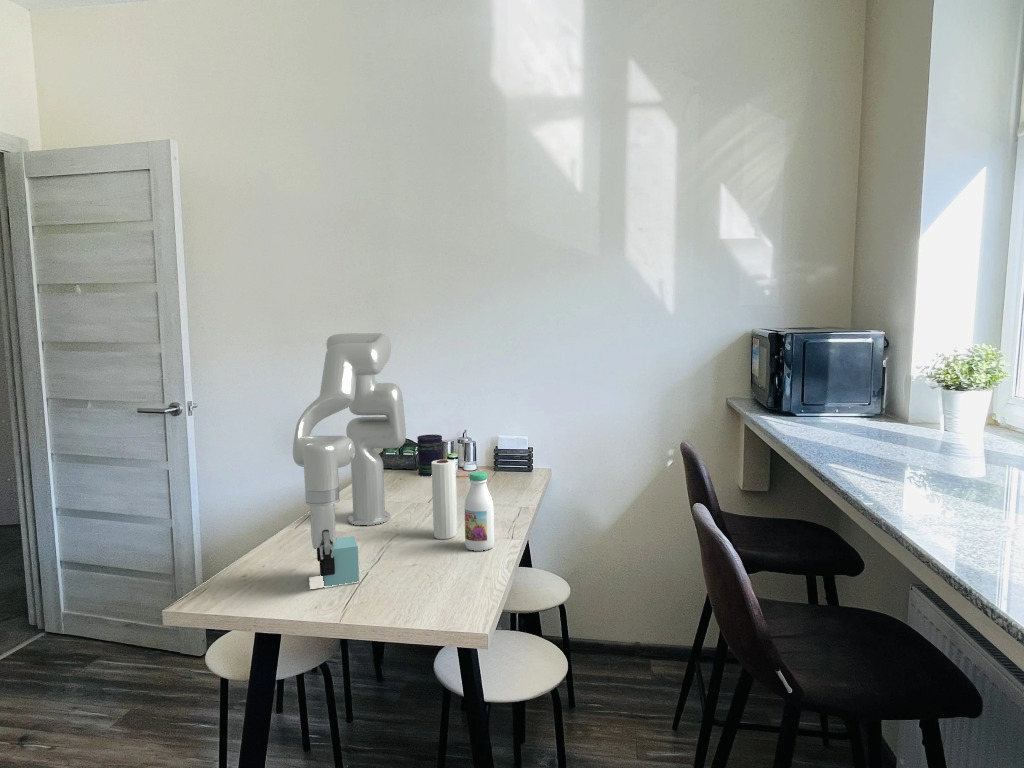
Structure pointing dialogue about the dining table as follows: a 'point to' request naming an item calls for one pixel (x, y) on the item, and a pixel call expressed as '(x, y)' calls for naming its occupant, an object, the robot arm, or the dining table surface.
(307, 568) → the dining table surface
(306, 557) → the dining table surface
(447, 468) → the paper towel roll
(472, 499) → the milk bottle
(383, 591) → the dining table surface
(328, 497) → the robot arm
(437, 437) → the storage jar
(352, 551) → the light teal cube-like block
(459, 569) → the dining table surface
